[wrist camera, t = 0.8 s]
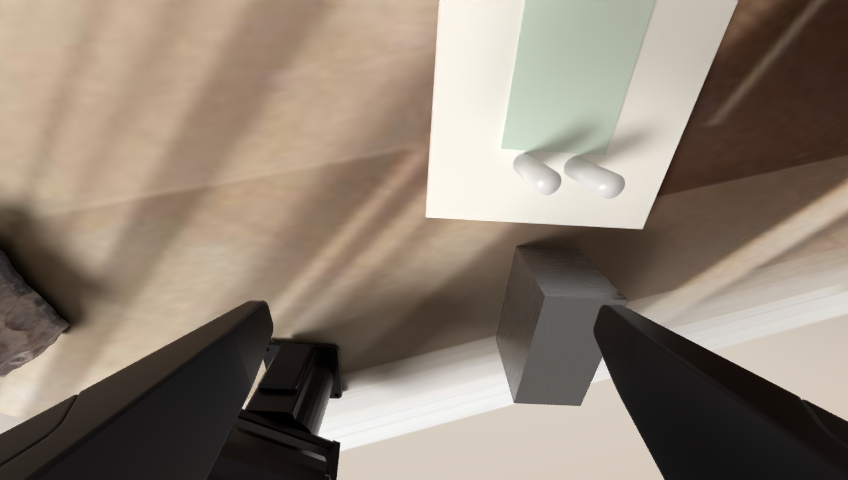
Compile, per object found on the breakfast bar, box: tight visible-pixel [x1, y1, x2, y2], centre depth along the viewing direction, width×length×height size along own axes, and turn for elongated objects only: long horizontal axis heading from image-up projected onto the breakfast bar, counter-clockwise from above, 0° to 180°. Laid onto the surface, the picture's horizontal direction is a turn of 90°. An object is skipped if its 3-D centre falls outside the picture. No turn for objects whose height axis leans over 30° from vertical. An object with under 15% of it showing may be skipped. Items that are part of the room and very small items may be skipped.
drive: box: [496, 246, 627, 406], centre depth 21 cm, size 9×5×6 cm, turn 177°
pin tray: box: [426, 0, 738, 229], centre depth 14 cm, size 20×14×6 cm
